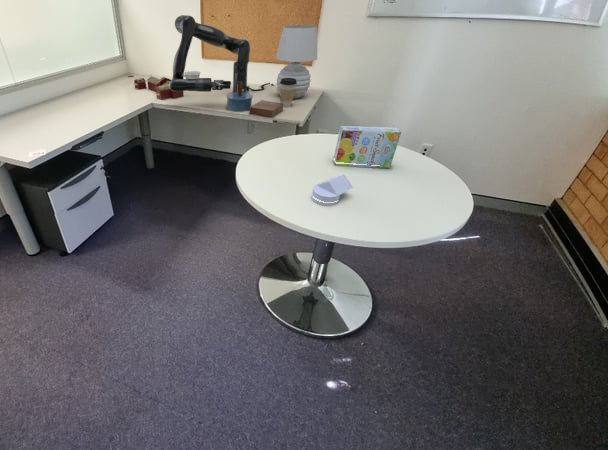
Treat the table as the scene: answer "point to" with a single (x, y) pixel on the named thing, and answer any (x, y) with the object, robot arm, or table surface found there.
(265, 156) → the table surface
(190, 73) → the teacup
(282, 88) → the coffee cup
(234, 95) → the lid
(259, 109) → the board
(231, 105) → the bowl
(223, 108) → the table surface
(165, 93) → the toy houses
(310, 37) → the table lamp
